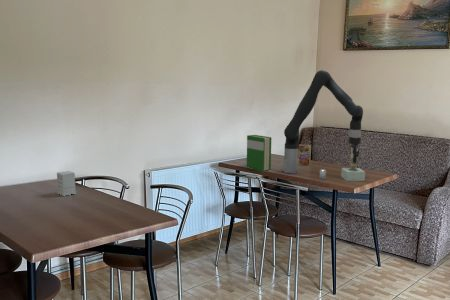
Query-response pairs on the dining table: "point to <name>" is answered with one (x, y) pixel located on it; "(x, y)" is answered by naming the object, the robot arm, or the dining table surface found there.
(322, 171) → the short pin
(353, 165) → the tall pin
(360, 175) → the hole block
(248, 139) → the hardback book
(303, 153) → the candy box
